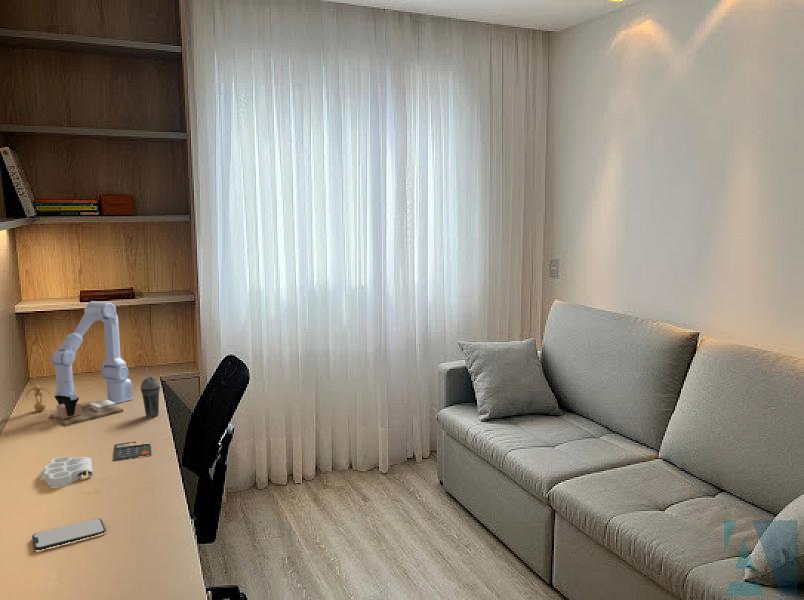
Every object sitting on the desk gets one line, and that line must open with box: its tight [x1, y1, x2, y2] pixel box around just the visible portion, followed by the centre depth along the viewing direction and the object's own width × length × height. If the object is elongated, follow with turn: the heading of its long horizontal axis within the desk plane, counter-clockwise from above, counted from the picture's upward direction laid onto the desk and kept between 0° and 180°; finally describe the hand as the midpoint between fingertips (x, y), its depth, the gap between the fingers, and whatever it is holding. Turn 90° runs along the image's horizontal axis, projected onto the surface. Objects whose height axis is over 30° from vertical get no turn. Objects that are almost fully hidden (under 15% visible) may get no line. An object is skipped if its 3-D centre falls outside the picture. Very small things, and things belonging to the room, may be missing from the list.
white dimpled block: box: [38, 456, 94, 488], centre depth 197 cm, size 3×18×15 cm
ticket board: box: [49, 398, 124, 427], centre depth 253 cm, size 22×16×3 cm
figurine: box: [26, 383, 51, 412], centre depth 256 cm, size 8×6×12 cm
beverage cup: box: [140, 367, 161, 418], centre depth 250 cm, size 7×7×20 cm
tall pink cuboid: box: [56, 401, 82, 419], centre depth 248 cm, size 7×5×4 cm
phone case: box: [31, 518, 107, 551], centre depth 161 cm, size 9×2×16 cm
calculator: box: [112, 441, 152, 462], centre depth 216 cm, size 12×1×15 cm
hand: (68, 413), depth 248 cm, fingers closed on tall pink cuboid, 5 cm apart
